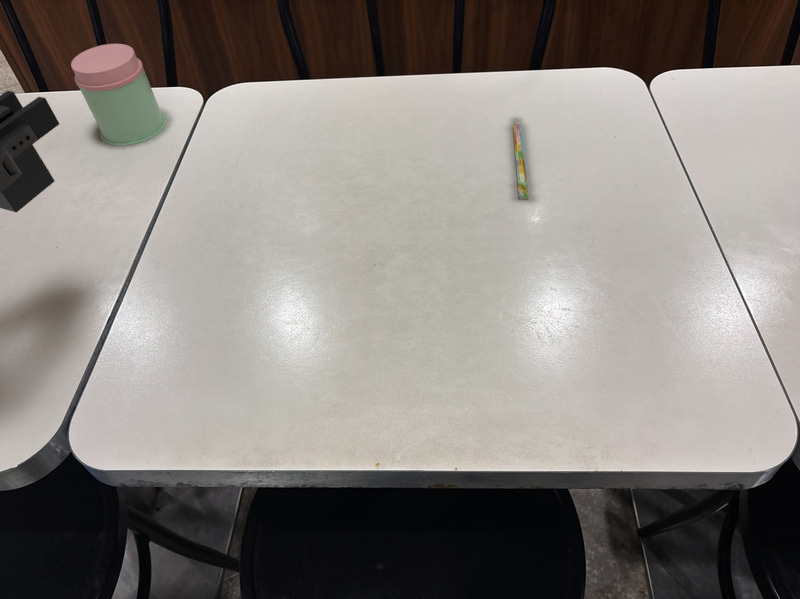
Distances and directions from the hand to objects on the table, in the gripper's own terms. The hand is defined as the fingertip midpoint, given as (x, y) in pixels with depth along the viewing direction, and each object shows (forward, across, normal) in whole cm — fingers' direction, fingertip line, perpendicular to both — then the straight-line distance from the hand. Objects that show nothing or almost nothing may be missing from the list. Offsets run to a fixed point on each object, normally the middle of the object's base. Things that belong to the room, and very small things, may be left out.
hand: (33, 107), depth 55 cm
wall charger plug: (-5, 0, -6) cm, 8 cm away
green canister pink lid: (+25, -19, -21) cm, 38 cm away
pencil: (+35, +40, -21) cm, 57 cm away
